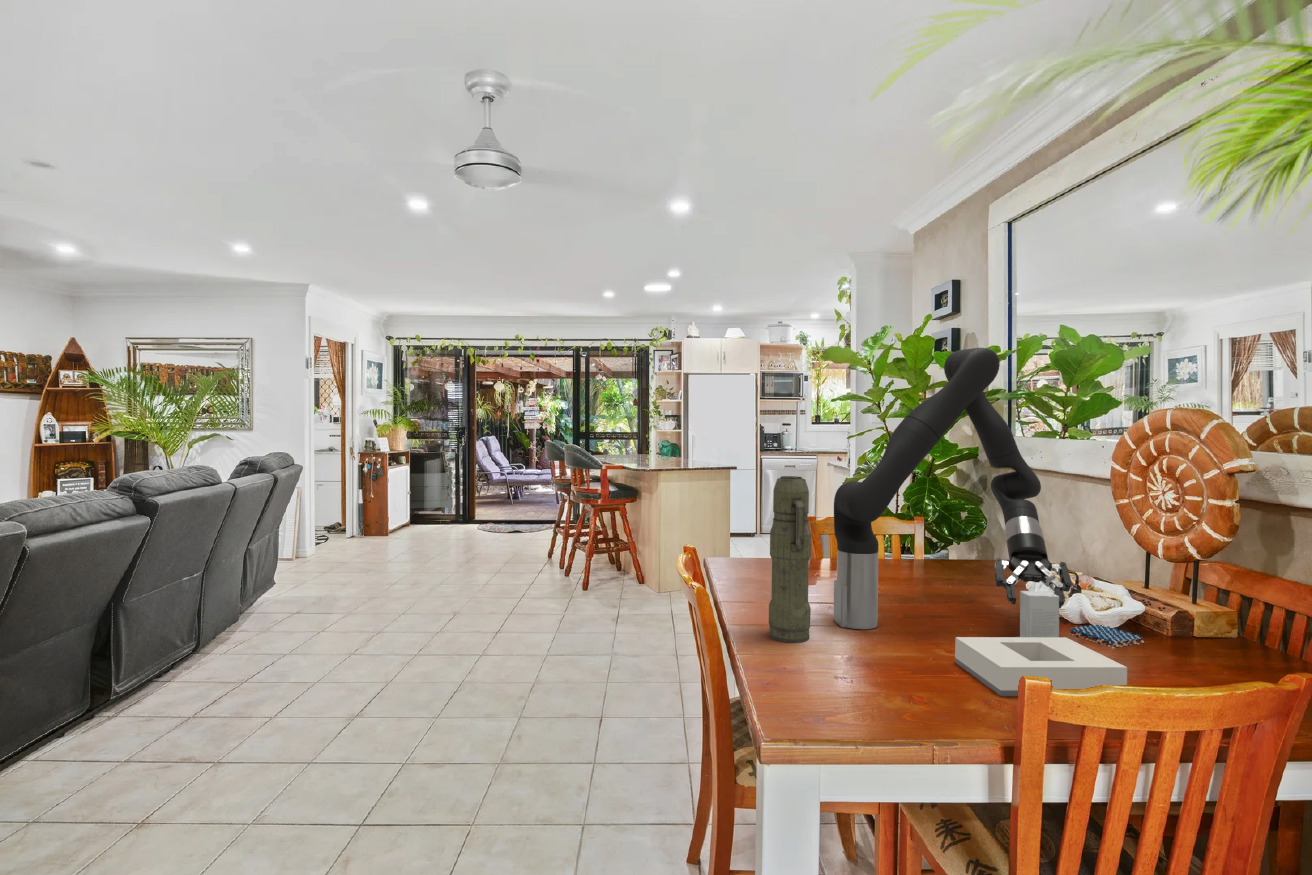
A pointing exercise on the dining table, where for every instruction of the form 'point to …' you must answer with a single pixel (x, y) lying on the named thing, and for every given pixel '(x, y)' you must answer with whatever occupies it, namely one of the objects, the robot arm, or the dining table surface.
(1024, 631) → the skincare box
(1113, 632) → the woven mat
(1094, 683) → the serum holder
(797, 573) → the thermos
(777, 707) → the dining table surface
